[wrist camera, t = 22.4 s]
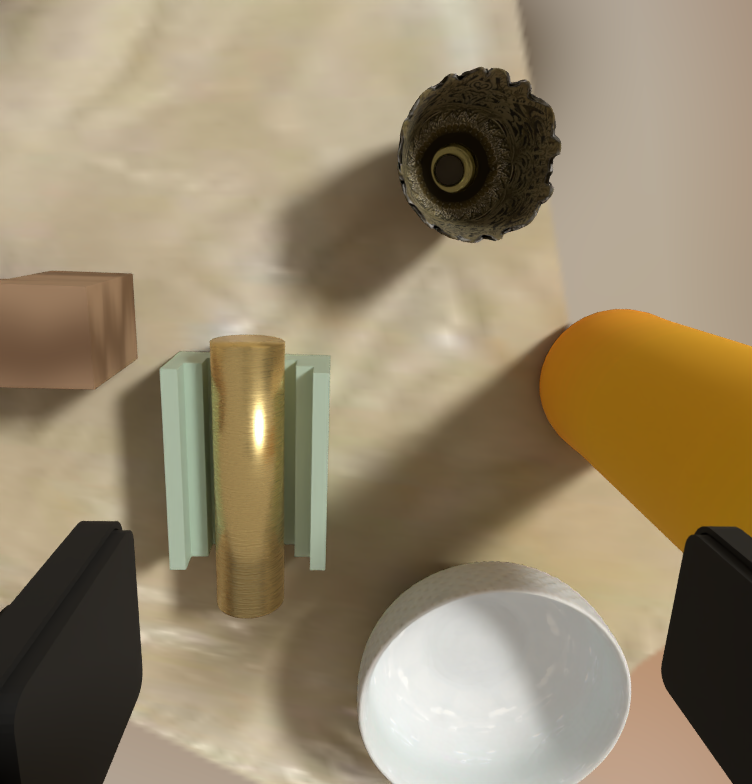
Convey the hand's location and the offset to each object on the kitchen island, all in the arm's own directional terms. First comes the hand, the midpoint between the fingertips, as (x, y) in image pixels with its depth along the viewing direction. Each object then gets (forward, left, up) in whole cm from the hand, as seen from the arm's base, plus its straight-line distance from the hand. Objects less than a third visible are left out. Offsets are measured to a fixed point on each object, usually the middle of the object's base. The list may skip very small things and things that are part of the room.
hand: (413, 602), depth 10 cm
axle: (+9, -6, -25) cm, 27 cm away
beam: (0, -20, -28) cm, 35 cm away
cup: (-9, +5, -28) cm, 30 cm away
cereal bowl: (+22, +9, -29) cm, 37 cm away
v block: (+8, -6, -28) cm, 30 cm away
